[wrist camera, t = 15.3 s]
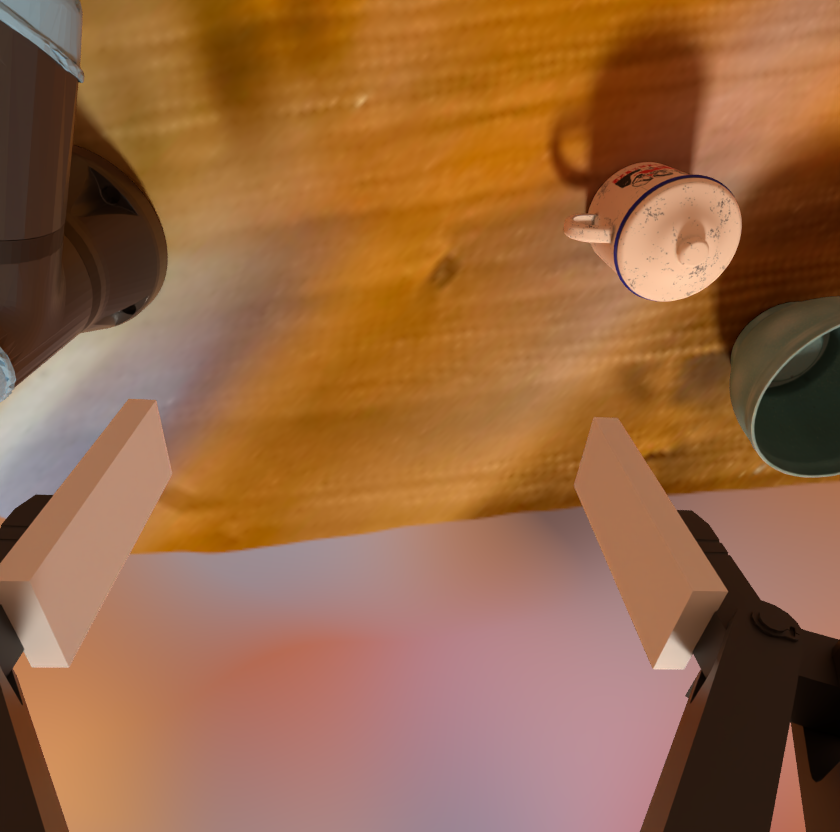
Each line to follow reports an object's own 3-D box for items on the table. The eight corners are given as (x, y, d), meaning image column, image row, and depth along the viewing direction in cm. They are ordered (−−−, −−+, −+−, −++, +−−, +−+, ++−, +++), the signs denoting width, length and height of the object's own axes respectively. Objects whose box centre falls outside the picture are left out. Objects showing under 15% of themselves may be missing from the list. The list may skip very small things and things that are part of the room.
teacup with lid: (703, 159, 45) (787, 185, 35) (671, 269, 50) (737, 318, 40) (559, 154, 44) (603, 179, 35) (541, 265, 49) (576, 314, 40)
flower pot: (837, 405, 58) (918, 468, 49) (684, 423, 59) (735, 488, 50) (889, 255, 50) (998, 297, 41) (708, 277, 50) (776, 324, 41)
